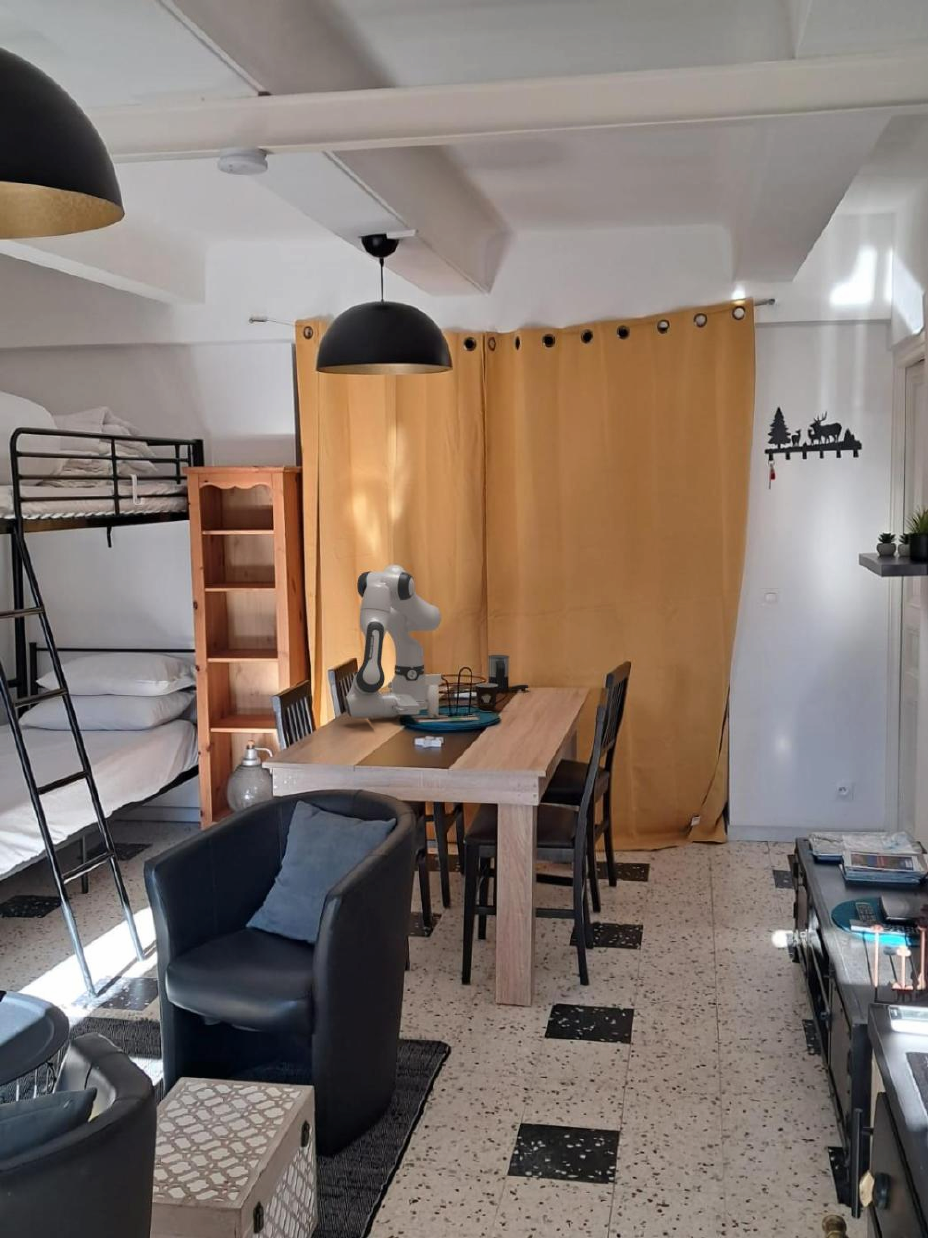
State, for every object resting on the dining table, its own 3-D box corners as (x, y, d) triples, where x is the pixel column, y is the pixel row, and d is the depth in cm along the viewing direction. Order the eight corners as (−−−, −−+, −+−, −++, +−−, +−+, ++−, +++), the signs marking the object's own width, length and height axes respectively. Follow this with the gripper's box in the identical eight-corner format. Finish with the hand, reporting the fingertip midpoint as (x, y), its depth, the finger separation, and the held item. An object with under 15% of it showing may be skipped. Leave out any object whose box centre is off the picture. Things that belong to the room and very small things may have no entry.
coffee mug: (471, 711, 461) (471, 685, 459) (481, 708, 468) (481, 682, 467) (498, 714, 455) (498, 688, 454) (508, 710, 463) (508, 685, 462)
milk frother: (483, 689, 511) (484, 654, 509) (516, 687, 517) (517, 653, 515) (498, 694, 498) (498, 659, 496) (532, 692, 504) (532, 657, 503)
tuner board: (410, 720, 444) (410, 715, 443) (473, 717, 449) (473, 713, 449) (416, 726, 432) (416, 721, 432) (481, 723, 437) (481, 719, 437)
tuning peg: (424, 716, 441) (424, 674, 439) (439, 715, 442) (439, 673, 440) (428, 720, 433) (428, 677, 432) (443, 719, 435) (443, 677, 433)
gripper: (394, 701, 425) (433, 700, 428) (385, 691, 445) (422, 690, 448) (394, 719, 426) (433, 718, 429) (385, 708, 445) (422, 707, 448)
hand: (427, 703), depth 438 cm, fingers closed, pressing on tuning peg
